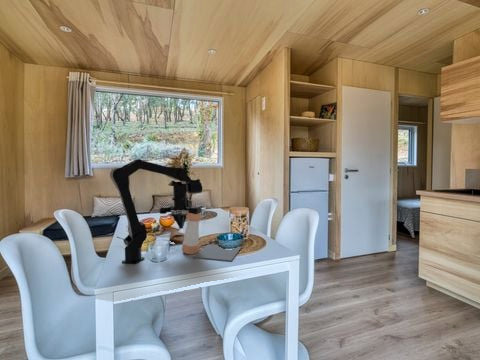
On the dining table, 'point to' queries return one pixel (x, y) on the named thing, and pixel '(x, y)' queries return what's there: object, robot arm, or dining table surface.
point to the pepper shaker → (191, 233)
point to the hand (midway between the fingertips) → (181, 228)
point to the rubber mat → (217, 253)
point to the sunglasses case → (176, 237)
